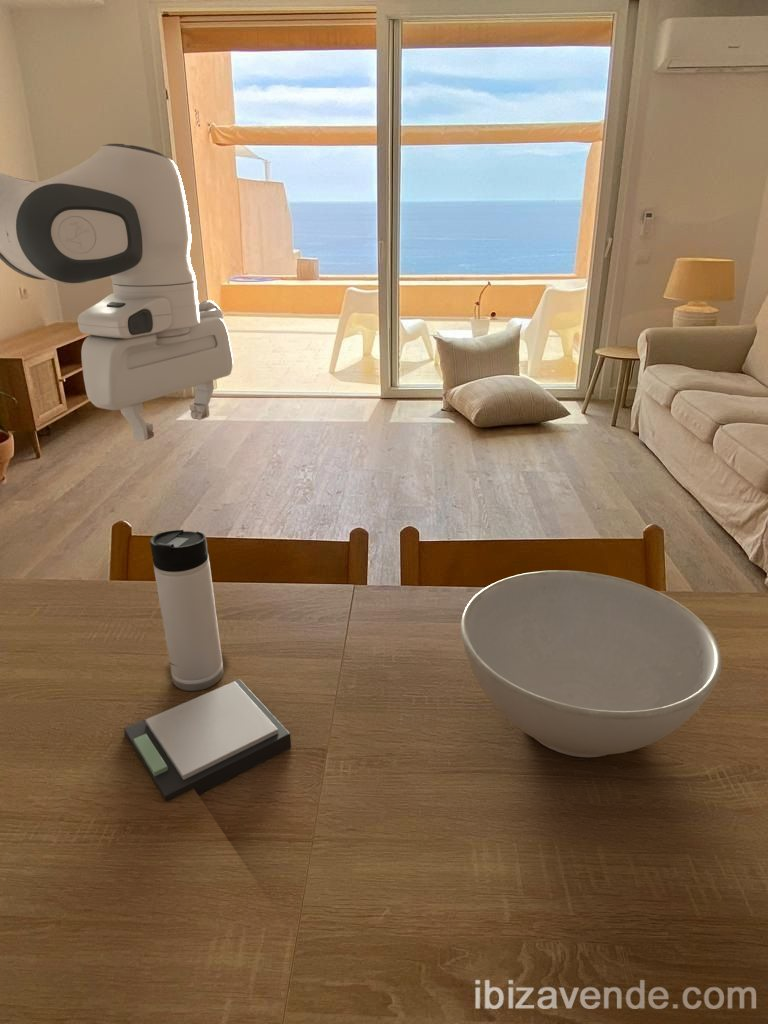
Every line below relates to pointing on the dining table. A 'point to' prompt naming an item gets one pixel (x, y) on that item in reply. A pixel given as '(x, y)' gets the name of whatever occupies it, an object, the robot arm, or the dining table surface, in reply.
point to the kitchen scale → (207, 740)
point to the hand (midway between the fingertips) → (173, 428)
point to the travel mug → (187, 608)
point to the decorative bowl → (589, 659)
